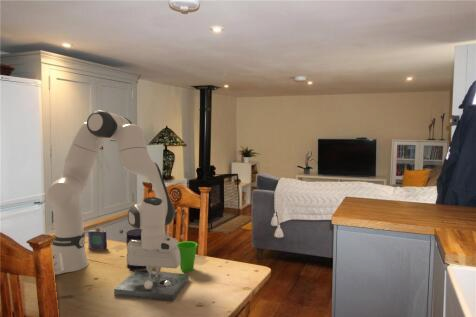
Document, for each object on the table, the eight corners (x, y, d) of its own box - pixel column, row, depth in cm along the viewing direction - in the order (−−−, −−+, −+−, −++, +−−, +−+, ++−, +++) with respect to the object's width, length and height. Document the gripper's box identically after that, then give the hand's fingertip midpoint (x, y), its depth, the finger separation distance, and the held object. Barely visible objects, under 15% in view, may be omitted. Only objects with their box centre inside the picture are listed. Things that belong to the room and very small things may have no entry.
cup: (193, 274, 150) (193, 248, 149) (172, 272, 152) (172, 247, 151) (200, 266, 159) (200, 242, 158) (180, 264, 161) (180, 240, 160)
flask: (87, 249, 179) (87, 227, 178) (90, 247, 182) (90, 226, 181) (105, 250, 178) (105, 228, 177) (108, 248, 181) (107, 226, 180)
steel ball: (162, 281, 135) (170, 283, 135) (165, 278, 138) (173, 279, 138) (161, 290, 136) (169, 291, 135) (164, 286, 139) (172, 287, 138)
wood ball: (148, 275, 143) (148, 265, 142) (152, 271, 147) (152, 261, 146) (157, 276, 142) (157, 266, 142) (161, 272, 146) (161, 262, 146)
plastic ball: (142, 290, 130) (142, 282, 130) (146, 286, 133) (146, 278, 133) (150, 291, 129) (150, 283, 129) (154, 287, 132) (154, 279, 132)
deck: (114, 295, 131) (114, 288, 131) (136, 275, 149) (136, 269, 148) (172, 301, 127) (172, 294, 127) (188, 280, 145) (188, 274, 145)
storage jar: (137, 259, 166) (137, 227, 164) (154, 263, 162) (154, 230, 160) (121, 267, 157) (121, 233, 155) (139, 271, 153) (139, 236, 151)
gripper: (123, 242, 135) (124, 278, 136) (176, 245, 131) (176, 283, 133) (131, 237, 141) (132, 271, 142) (182, 240, 138) (182, 276, 139)
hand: (153, 277), depth 138 cm, fingers closed
